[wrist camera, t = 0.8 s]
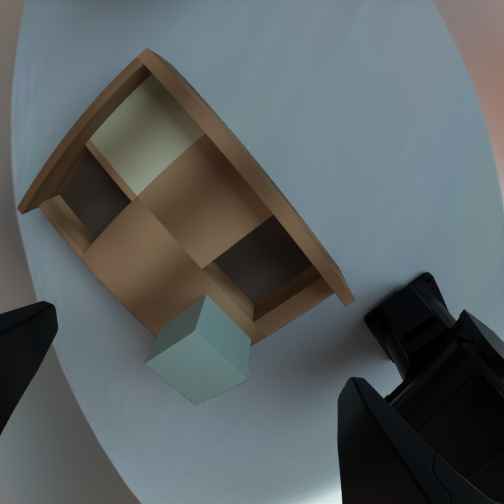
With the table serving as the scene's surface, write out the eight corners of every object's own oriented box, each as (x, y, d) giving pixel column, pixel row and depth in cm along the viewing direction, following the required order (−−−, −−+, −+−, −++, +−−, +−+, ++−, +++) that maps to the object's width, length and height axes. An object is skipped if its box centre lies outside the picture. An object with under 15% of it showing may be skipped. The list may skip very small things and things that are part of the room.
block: (250, 339, 21) (248, 379, 17) (204, 366, 22) (195, 405, 18) (206, 294, 20) (194, 330, 16) (161, 327, 21) (144, 363, 17)
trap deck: (338, 268, 22) (355, 299, 17) (204, 355, 25) (195, 393, 21) (171, 63, 17) (146, 47, 12) (53, 192, 20) (17, 208, 16)
